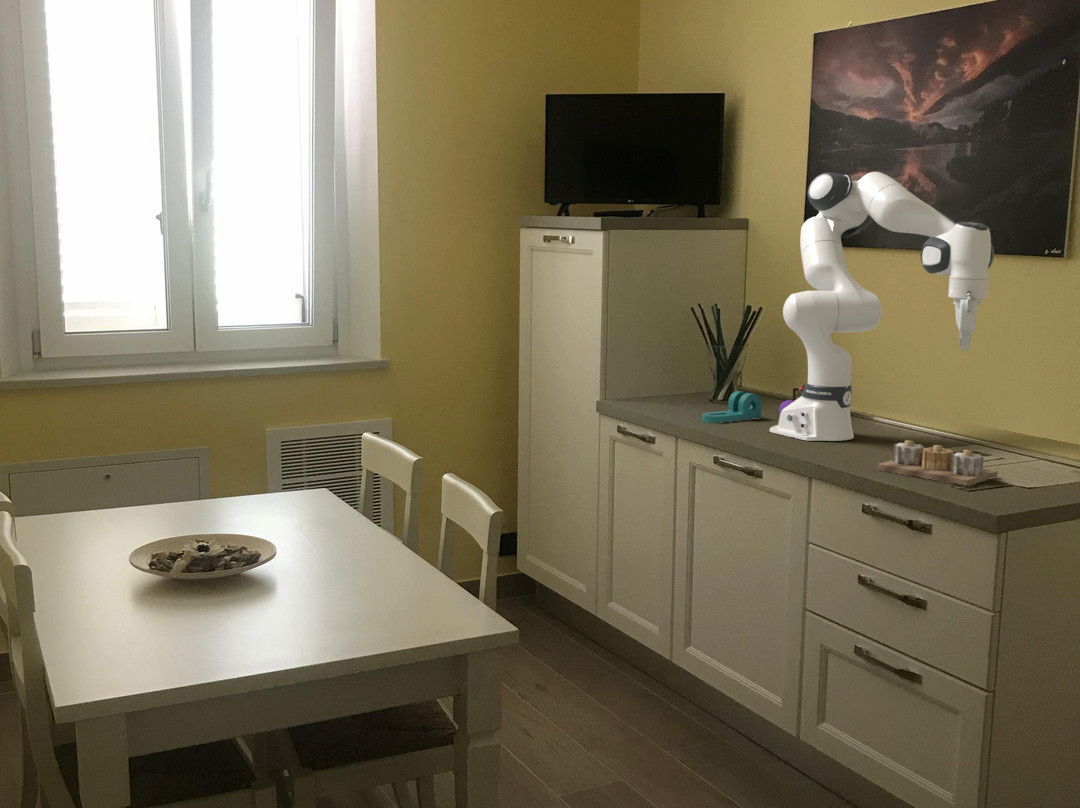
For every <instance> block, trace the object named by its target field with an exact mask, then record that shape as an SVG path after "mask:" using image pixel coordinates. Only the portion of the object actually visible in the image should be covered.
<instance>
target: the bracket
mask: <svg viewBox="0 0 1080 808" xmlns="http://www.w3.org/2000/svg"><path fill="white" fill-rule="evenodd" d="M727 403H728V405H727V410H720V411H712V412H704V413H702V414H701V415H702V416H701V421H704V422H709V423H708V424H711V423H720V422H729V421H737V420H745V419H752V418H762V417H761V416H762V400H761V398H760V396H759V394H756V393H752V392H746V391H740V390H735V391H733V392H732V393H731V394H730V396H729V397H728V401H727ZM704 422H703V423H704Z"/></svg>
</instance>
